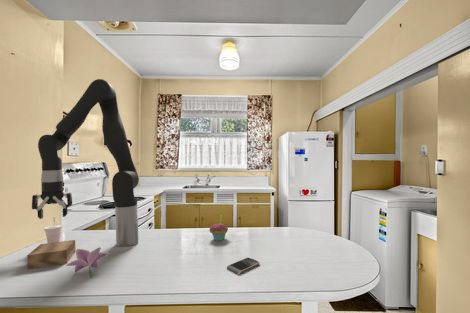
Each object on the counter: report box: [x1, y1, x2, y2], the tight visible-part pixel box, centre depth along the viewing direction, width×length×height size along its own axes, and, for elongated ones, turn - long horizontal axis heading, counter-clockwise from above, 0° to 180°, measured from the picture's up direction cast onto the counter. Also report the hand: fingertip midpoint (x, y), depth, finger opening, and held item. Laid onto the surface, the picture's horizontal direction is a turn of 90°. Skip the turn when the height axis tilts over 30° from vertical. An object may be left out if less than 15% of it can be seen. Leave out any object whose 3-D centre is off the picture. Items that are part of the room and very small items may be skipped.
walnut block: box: [26, 239, 77, 270], centre depth 96 cm, size 12×12×5 cm
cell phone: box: [226, 257, 261, 275], centre depth 85 cm, size 6×11×1 cm, turn 132°
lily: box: [65, 246, 112, 279], centre depth 83 cm, size 12×12×10 cm
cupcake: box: [208, 214, 229, 242], centre depth 114 cm, size 9×8×12 cm
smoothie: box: [43, 216, 63, 243], centre depth 107 cm, size 6×6×14 cm
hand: (52, 217), depth 107 cm, fingers open, 8 cm apart
